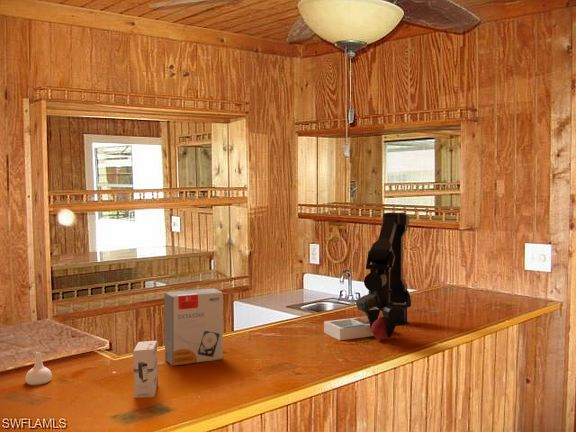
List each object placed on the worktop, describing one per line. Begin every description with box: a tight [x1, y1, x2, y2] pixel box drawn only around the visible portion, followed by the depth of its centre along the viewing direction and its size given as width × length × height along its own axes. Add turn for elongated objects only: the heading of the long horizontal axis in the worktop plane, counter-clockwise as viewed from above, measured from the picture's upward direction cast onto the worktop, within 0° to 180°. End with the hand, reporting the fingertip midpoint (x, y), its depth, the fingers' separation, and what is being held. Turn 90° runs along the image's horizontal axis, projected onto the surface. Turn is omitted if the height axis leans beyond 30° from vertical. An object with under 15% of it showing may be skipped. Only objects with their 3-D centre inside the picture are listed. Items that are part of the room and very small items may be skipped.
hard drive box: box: [163, 287, 224, 367], centre depth 177 cm, size 16×8×20 cm, turn 117°
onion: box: [371, 315, 388, 342], centre depth 196 cm, size 6×6×8 cm
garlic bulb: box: [25, 351, 52, 386], centre depth 159 cm, size 6×6×8 cm
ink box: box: [132, 340, 159, 399], centre depth 151 cm, size 9×5×12 cm, turn 5°
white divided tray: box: [323, 315, 375, 341], centre depth 206 cm, size 20×11×4 cm, turn 114°
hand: (380, 334), depth 197 cm, fingers open, 8 cm apart
